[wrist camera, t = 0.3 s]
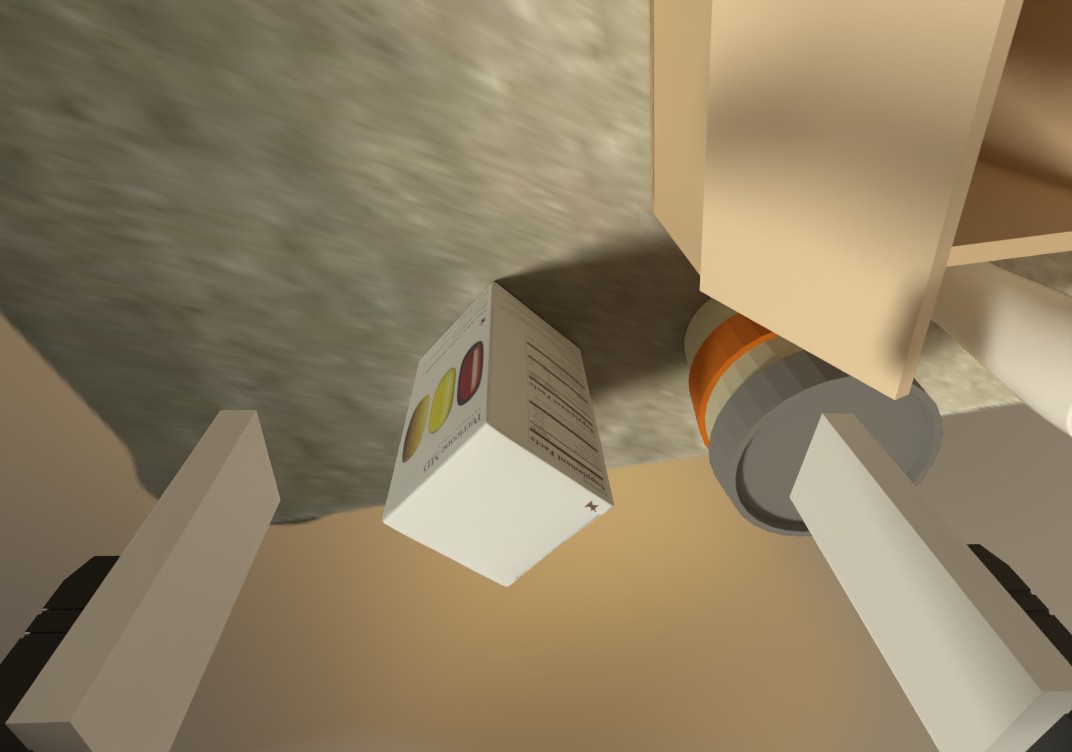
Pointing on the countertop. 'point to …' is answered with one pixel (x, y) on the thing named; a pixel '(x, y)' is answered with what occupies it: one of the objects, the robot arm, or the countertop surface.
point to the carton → (1000, 172)
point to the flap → (845, 166)
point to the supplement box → (498, 443)
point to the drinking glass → (1013, 333)
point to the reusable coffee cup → (786, 413)
